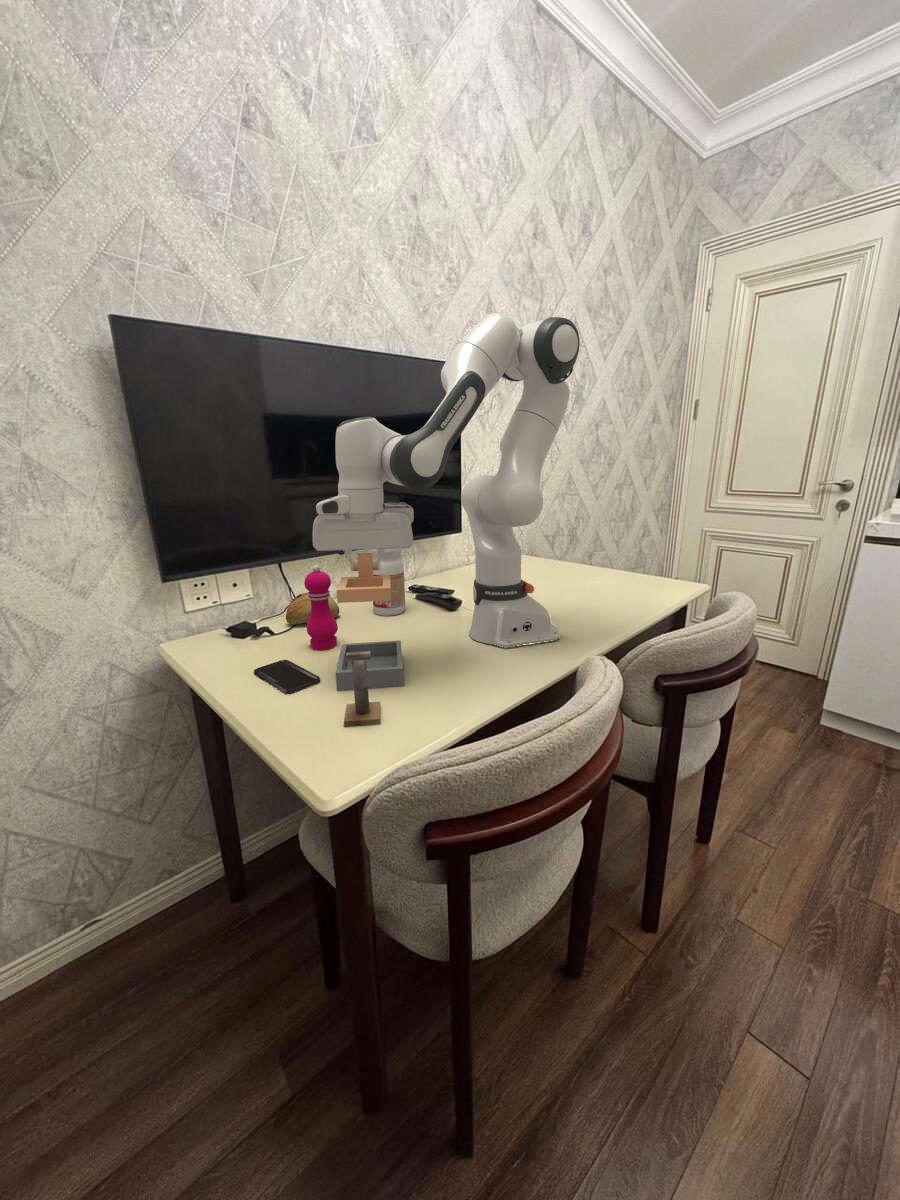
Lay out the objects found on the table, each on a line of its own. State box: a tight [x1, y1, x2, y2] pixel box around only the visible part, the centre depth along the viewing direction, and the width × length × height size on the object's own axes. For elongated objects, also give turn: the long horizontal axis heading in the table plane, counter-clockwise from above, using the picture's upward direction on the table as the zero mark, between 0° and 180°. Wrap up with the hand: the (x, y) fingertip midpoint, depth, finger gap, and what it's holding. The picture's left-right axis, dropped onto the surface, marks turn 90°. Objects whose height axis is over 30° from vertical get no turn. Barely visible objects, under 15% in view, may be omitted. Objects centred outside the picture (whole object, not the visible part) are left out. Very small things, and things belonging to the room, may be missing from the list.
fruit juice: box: [369, 548, 406, 617], centre depth 136 cm, size 9×9×28 cm
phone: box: [253, 659, 321, 695], centre depth 99 cm, size 8×1×15 cm
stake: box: [343, 651, 381, 728], centre depth 82 cm, size 6×6×12 cm
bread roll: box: [285, 592, 340, 625], centre depth 133 cm, size 10×15×8 cm, turn 125°
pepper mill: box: [304, 564, 339, 651], centre depth 113 cm, size 7×7×20 cm
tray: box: [335, 639, 405, 692], centre depth 100 cm, size 13×15×4 cm
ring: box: [336, 552, 391, 604], centre depth 95 cm, size 10×12×7 cm
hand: (365, 570), depth 100 cm, fingers closed on ring, 3 cm apart
